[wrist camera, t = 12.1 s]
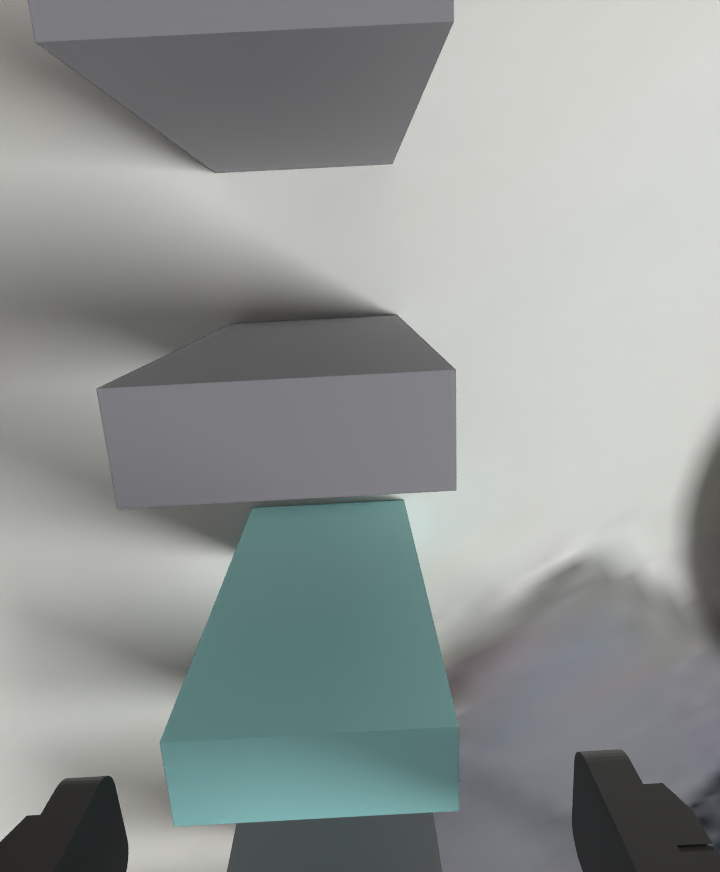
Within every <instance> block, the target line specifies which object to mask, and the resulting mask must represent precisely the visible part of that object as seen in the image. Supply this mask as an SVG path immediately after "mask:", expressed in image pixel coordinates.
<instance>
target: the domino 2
mask: <svg viewBox="0 0 720 872" xmlns="http://www.w3.org/2000/svg"><path fill="white" fill-rule="evenodd" d="M97 395H98V400H99V406H100V412H101V417H102V423H103V429H104V434H105V440H106V446H107V452H108V457H109V463H110V469H111V474H112V480H113V486H114V492H115V497H116V503H117V509H125V508H143V507H162V506H180V505H199V504H217V503H235V502H254V501H272V500H291V499H309V498H327V497H346V496H364V495H383V494H401V493H419V492H438V491H456V369H454V368H453V367H452V366H451V365H450V364H449V363H448V362H447V361H446V360H445V359H444V358H443V357H442V356H441V355H440V354H438V353H437V352H436V351H435V350H434V349H433V348H432V347H431V346H430V345H429V344H428V343H427V342H426V341H425V340H424V339H422V338H421V337H420V336H419V335H418V334H417V333H416V332H415V331H414V330H413V329H412V328H411V327H410V326H409V325H407V324H406V323H405V322H404V321H403V320H402V319H401V318H400V317H399V316H398V315H386V316H367V317H348V318H329V319H310V320H291V321H272V322H253V323H234V324H230V325H228V326H226V327H224V328H222V329H220V330H217V331H215V332H213V333H211V334H209V335H207V336H205V337H203V338H201V339H199V340H197V341H195V342H193V343H190V344H188V345H186V346H184V347H182V348H180V349H178V350H176V351H174V352H172V353H170V354H168V355H166V356H163V357H161V358H159V359H157V360H155V361H153V362H151V363H149V364H147V365H145V366H143V367H141V368H139V369H136V370H134V371H132V372H130V373H128V374H126V375H124V376H122V377H120V378H118V379H116V380H114V381H112V382H109V383H107V384H105V385H103V386H101V387H99V388H97Z"/></svg>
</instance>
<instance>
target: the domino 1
mask: <svg viewBox="0 0 720 872" xmlns="http://www.w3.org/2000/svg"><path fill="white" fill-rule="evenodd" d="M28 3H29V9H30V15H31V20H32V26H33V32H34V38H35V42H36V43H37V44H39V45H40V46H41V47H43V48H44V49H45V50H47V51H48V52H50V53H51V54H52V55H54V56H55V57H56V58H58V59H59V60H61V61H62V62H63V63H65V64H66V65H67V66H69V67H70V68H72V69H73V70H74V71H76V72H77V73H78V74H80V75H81V76H83V77H84V78H85V79H87V80H88V81H89V82H91V83H92V84H94V85H95V86H96V87H98V88H99V89H100V90H102V91H103V92H105V93H106V94H107V95H109V96H110V97H111V98H113V99H114V100H116V101H117V102H118V103H120V104H121V105H122V106H124V107H125V108H127V109H128V110H129V111H131V112H132V113H133V114H135V115H136V116H138V117H139V118H140V119H142V120H143V121H145V122H146V123H147V124H149V125H150V126H151V127H153V128H154V129H156V130H157V131H158V132H160V133H161V134H162V135H164V136H165V137H167V138H168V139H169V140H171V141H172V142H173V143H175V144H176V145H178V146H179V147H180V148H182V149H183V150H184V151H186V152H187V153H189V154H190V155H191V156H193V157H194V158H195V159H197V160H198V161H200V162H201V163H202V164H204V165H205V166H206V167H208V168H209V169H211V170H212V171H213V172H215V173H226V172H245V171H265V170H285V169H304V168H324V167H344V166H364V165H383V164H393V161H394V159H395V157H396V154H397V152H398V150H399V147H400V145H401V143H402V140H403V138H404V136H405V133H406V131H407V129H408V127H409V124H410V122H411V120H412V117H413V115H414V113H415V110H416V108H417V106H418V103H419V101H420V99H421V96H422V94H423V92H424V89H425V87H426V85H427V82H428V80H429V78H430V75H431V73H432V71H433V68H434V66H435V64H436V61H437V59H438V57H439V54H440V52H441V50H442V47H443V45H444V43H445V40H446V38H447V36H448V34H449V31H450V29H451V27H452V24H453V22H454V0H28Z"/></svg>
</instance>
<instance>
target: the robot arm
mask: <svg viewBox="0 0 720 872" xmlns="http://www.w3.org/2000/svg"><path fill="white" fill-rule="evenodd" d="M572 828H573V836H574V842H575V846H576V851H577V855H578V858H579V862H580V865H581V867H582V870H583V872H720V855H719V853H718V851H717V850H714V848H713V843H712V842H711V840H710V838H709V837H708V835H707V833H706V832H705V830H704V828H703V827H702V825H701V824H700V822H699V820H698V819H697V817H696V815H695V814H694V812H693V811H692V810H691V809H690V808H689V807H688V806H687V805H686V804H685V803H684V802H683V801H682V800H680V799H679V798H678V797H677V796H676V795H675V794H674V793H673V792H672V791H671V790H670V789H668V788H667V787H666V786H665V785H664V784H663V783H657V784H643V783H642V781H641V779H640V778H639V776H638V774H637V772H636V770H635V768H634V767H633V765H632V763H631V761H630V759H629V758H628V756H627V755H626V753H625V752H624V751H623V750H603V751H585V752H577V753H576V755H575V760H574V783H573V807H572ZM127 864H128V840H127V836H126V831H125V827H124V822H123V818H122V814H121V809H120V805H119V800H118V796H117V791H116V787H115V783H114V781H113V779H112V778H111V777H110V776H100V777H82V778H66V779H64V780H63V781H61V782H60V784H59V785H58V786H57V788H56V789H55V791H54V793H53V794H52V796H51V798H50V800H49V801H48V803H47V805H46V806H45V808H44V810H43V812H42V813H41V815H31V816H26V817H25V818H24V819H23V820H22V821H21V822H20V823H19V824H18V825H17V826H16V827H15V828H14V829H13V830H12V831H11V832H10V833H9V834H8V835H7V836H6V837H5V838H4V839H3V840H2V841H1V842H0V872H126V870H127Z"/></svg>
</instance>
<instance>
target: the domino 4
mask: <svg viewBox="0 0 720 872" xmlns="http://www.w3.org/2000/svg"><path fill="white" fill-rule="evenodd" d="M227 872H442V868H441V862H440V855H439V849H438V843H437V836H436V830H435V823H434V817H433V812H428V813H410V814H392V815H374V816H356V817H338V818H320V819H302V820H284V821H266V822H248V823H237V824H236V829H235V834H234V839H233V844H232V849H231V854H230V859H229V864H228V869H227Z"/></svg>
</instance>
